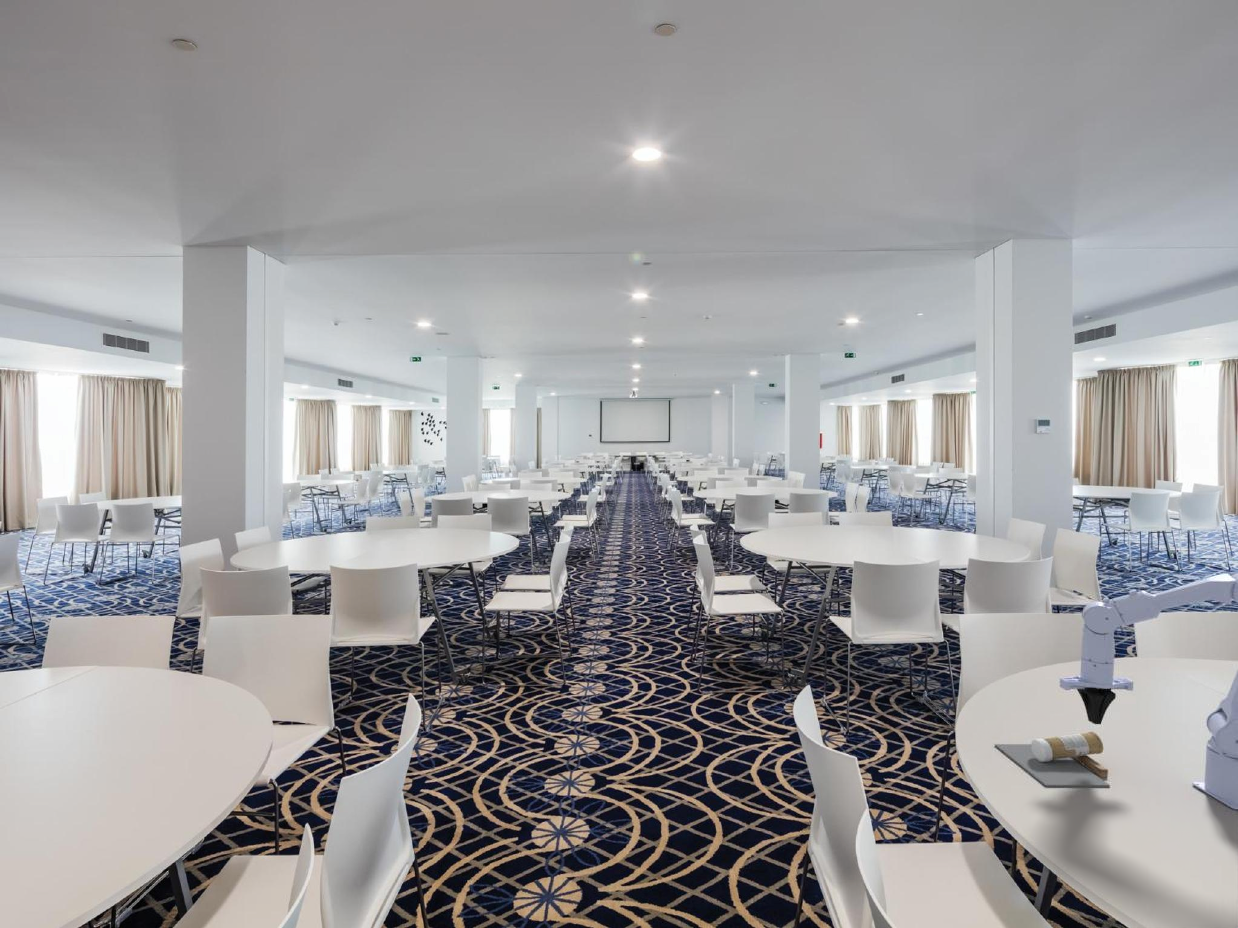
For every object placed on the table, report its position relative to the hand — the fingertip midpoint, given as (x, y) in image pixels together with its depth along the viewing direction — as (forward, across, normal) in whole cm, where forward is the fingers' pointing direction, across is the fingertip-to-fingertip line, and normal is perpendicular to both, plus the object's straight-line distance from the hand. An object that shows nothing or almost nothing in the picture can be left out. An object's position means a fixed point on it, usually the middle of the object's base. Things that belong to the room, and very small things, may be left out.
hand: (1094, 722), depth 146 cm
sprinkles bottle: (+5, -2, -2) cm, 6 cm away
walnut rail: (+9, +1, 0) cm, 9 cm away
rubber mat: (+9, +10, 0) cm, 13 cm away
